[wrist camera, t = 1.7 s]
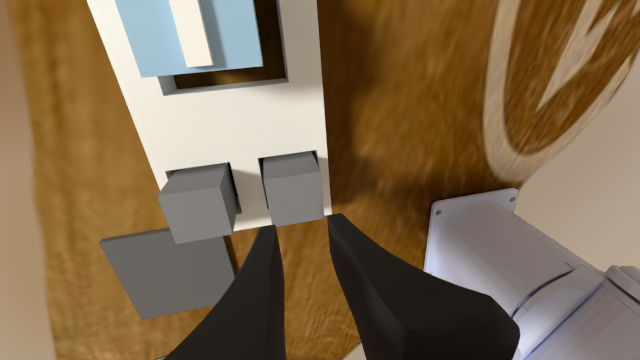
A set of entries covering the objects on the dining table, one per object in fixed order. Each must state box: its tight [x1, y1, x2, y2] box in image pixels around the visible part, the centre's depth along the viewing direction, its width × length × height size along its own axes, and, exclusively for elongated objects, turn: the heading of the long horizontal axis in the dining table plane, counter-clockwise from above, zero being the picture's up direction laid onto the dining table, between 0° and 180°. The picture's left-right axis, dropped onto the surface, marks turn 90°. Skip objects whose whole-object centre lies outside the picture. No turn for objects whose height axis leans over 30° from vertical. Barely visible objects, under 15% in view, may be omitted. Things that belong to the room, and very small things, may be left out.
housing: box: [87, 0, 332, 231], centre depth 16 cm, size 16×10×2 cm, turn 5°
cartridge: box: [115, 0, 263, 78], centre depth 12 cm, size 4×4×8 cm
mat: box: [99, 228, 236, 320], centre depth 21 cm, size 8×8×1 cm
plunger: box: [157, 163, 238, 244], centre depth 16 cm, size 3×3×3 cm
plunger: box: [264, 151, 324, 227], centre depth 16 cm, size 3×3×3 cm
